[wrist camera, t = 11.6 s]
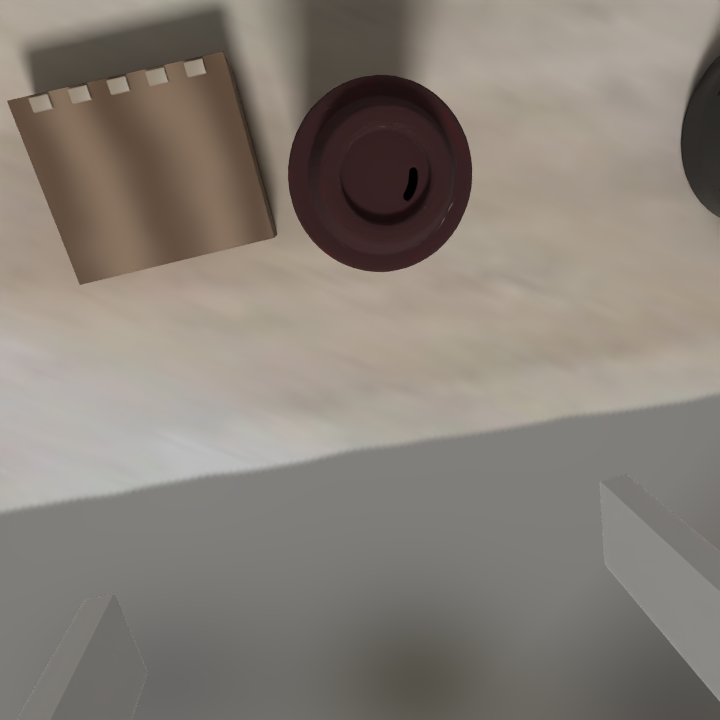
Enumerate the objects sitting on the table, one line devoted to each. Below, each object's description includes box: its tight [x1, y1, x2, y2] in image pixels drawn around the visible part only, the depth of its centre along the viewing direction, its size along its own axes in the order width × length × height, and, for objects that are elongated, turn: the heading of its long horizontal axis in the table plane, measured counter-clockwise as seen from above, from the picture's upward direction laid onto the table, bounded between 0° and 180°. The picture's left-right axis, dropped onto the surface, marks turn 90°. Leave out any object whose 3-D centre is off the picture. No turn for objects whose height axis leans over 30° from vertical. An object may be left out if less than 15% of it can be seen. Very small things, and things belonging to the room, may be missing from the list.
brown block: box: [7, 52, 277, 285], centre depth 36 cm, size 14×12×4 cm
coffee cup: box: [288, 75, 472, 272], centre depth 33 cm, size 10×10×15 cm
